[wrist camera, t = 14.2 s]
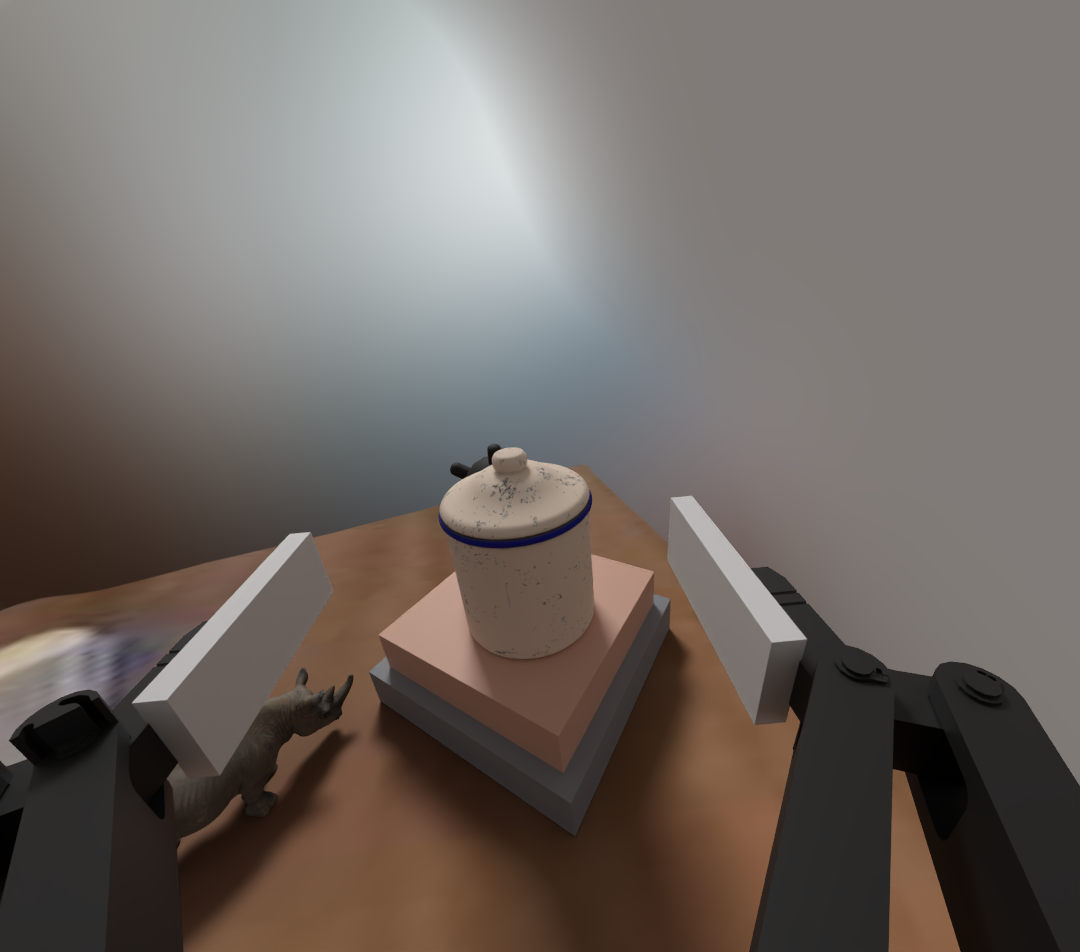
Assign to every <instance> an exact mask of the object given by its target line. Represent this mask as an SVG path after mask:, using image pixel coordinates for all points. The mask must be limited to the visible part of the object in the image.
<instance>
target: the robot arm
mask: <svg viewBox="0 0 1080 952" xmlns="http://www.w3.org/2000/svg"><path fill="white" fill-rule="evenodd" d="M667 560H668V562H669V564H670V566H671V568H672V570H673V571H674V573H675V575H676V577H677V579H678V581H679V583H680V585H681V587H682V588H683V590H684V592H685V594H686V596H687V598H688V600H689V602H690V604H691V606H692V607H693V609H694V611H695V613H696V615H697V617H698V619H699V621H700V623H701V625H702V626H703V628H704V630H705V632H706V634H707V636H708V638H709V640H710V642H711V643H712V645H713V647H714V649H715V651H716V653H717V655H718V657H719V659H720V661H721V662H722V664H723V666H724V668H725V670H726V672H727V674H728V676H729V678H730V680H731V681H732V683H733V685H734V687H735V689H736V691H737V693H738V695H739V697H740V698H741V700H742V702H743V704H744V706H745V708H746V710H747V712H748V714H749V716H750V717H751V719H752V721H753V723H754V725H759V724H770V723H780V722H786V719H787V715H788V711H789V707H790V706H791V708H792V709H793V711H794V713H795V714H796V716H797V717H798V719H799V720H800V725H799V729H798V732H797V736H796V739H795V743H794V746H793V750H794V751H793V756H792V760H791V765H790V769H789V774H788V778H787V783H786V787H785V792H784V796H783V801H782V806H781V810H780V815H779V819H778V824H777V828H776V833H775V837H774V842H773V846H772V851H771V855H770V860H769V864H768V869H767V874H766V878H765V883H764V887H763V892H762V896H761V901H760V905H759V910H758V914H757V919H756V923H755V928H754V932H753V937H752V941H751V946H750V951H749V952H888V949H889V905H890V861H891V817H892V773H893V769H896V770H900V771H904V772H905V774H906V777H907V780H908V783H909V786H910V790H911V793H912V796H913V799H914V803H915V806H916V809H917V812H918V816H919V819H920V822H921V825H922V828H923V832H924V835H925V838H926V841H927V845H928V848H929V851H930V854H931V857H932V861H933V864H934V867H935V870H936V874H937V877H938V880H939V883H940V886H941V890H942V893H943V896H944V899H945V903H946V906H947V909H948V912H949V916H950V919H951V922H952V925H953V928H954V932H955V935H956V938H957V941H958V945H959V948H960V951H961V952H1080V786H1079V784H1078V783H1077V781H1076V779H1075V778H1074V776H1073V775H1072V773H1071V772H1070V770H1069V768H1068V767H1067V765H1066V764H1065V762H1064V761H1063V759H1062V757H1061V756H1060V754H1059V753H1058V751H1057V750H1056V748H1055V746H1054V745H1053V743H1052V742H1051V740H1050V739H1049V737H1048V735H1047V734H1046V732H1045V731H1044V729H1043V728H1042V726H1041V724H1040V723H1039V721H1038V720H1037V718H1036V717H1035V715H1034V714H1033V712H1032V711H1031V709H1030V707H1029V706H1028V704H1027V703H1026V701H1025V699H1024V698H1023V697H1022V696H1021V695H1020V694H1019V693H1018V692H1017V691H1016V689H1015V688H1014V687H1012V686H1011V685H1010V684H1008V683H1007V682H1005V681H1004V680H1002V679H1001V678H1000V677H998V676H996V675H994V674H992V673H990V672H988V671H986V670H984V669H982V668H979V667H976V666H973V665H969V664H966V663H959V662H947V663H942V664H940V665H939V666H938V667H937V668H936V670H935V672H934V674H933V676H932V677H930V676H925V675H918V674H913V673H907V672H901V671H895V670H891V669H887V667H886V666H885V665H884V664H883V663H882V662H881V661H879V660H878V659H877V658H875V657H874V656H872V655H871V654H869V653H867V652H865V651H863V650H860V649H858V648H855V647H851V646H846V645H845V644H844V643H843V642H842V641H841V640H840V639H839V638H838V636H837V635H836V634H835V633H834V632H833V631H832V630H831V628H829V626H828V625H827V624H826V623H825V622H824V621H823V620H822V618H821V617H820V616H819V615H818V614H817V613H816V612H815V611H814V610H813V608H812V607H811V606H810V605H809V604H806V601H805V600H804V598H803V597H802V596H801V595H800V594H799V593H797V592H796V589H794V587H793V586H792V585H791V584H790V583H789V582H788V581H787V580H786V578H785V577H783V576H781V575H780V574H778V573H777V572H775V571H773V570H772V569H770V568H768V567H761V568H749V566H748V565H747V564H746V563H745V562H744V560H743V559H742V558H741V556H740V555H739V554H738V553H737V551H736V550H735V549H734V548H733V546H732V545H731V544H730V543H729V542H728V540H727V539H726V538H725V536H724V535H723V534H722V533H721V531H720V530H719V529H718V528H717V526H716V525H715V524H714V523H713V522H712V520H711V519H710V518H709V517H708V515H707V514H706V513H705V512H704V510H703V509H702V508H701V507H700V505H699V504H698V503H697V502H696V500H695V499H694V498H693V497H692V496H684V497H675V498H671V504H670V521H669V540H668V557H667ZM332 593H333V589H332V587H331V584H330V581H329V579H328V576H327V574H326V571H325V568H324V566H323V563H322V561H321V558H320V555H319V553H318V550H317V548H316V545H315V542H314V540H313V537H312V535H311V532H307V533H297V534H289V535H288V537H287V538H286V539H285V540H284V541H283V542H282V543H281V544H280V545H279V546H278V547H277V548H276V549H275V550H274V551H273V552H272V554H271V555H270V556H269V557H268V558H267V559H266V560H265V561H264V562H263V563H262V564H261V565H260V566H259V567H258V569H257V570H256V571H255V572H254V573H253V574H252V575H251V576H250V577H249V578H248V579H247V580H246V581H245V582H244V583H243V585H242V586H241V587H240V588H239V589H238V590H237V591H236V592H235V593H234V594H233V595H232V596H231V597H230V598H229V600H228V601H227V602H226V603H225V604H224V605H223V606H222V607H221V608H220V609H219V610H218V611H217V612H216V613H215V615H214V616H213V617H212V618H211V619H210V620H209V621H204V622H203V623H201V624H200V625H199V626H197V627H196V628H194V629H193V630H192V631H190V632H189V633H187V634H186V635H185V636H183V638H182V639H181V640H180V641H179V642H178V643H177V644H176V645H175V646H174V647H173V648H172V649H171V650H170V651H169V654H166V655H165V656H164V657H163V658H162V659H161V660H160V661H159V662H158V663H157V667H154V668H153V669H152V670H151V671H150V672H149V673H148V674H147V675H146V676H145V677H144V678H143V679H142V680H141V681H140V682H139V683H138V684H137V685H136V686H135V687H134V688H133V689H132V690H131V691H130V692H129V693H128V695H127V696H126V697H125V698H124V699H123V700H122V701H121V702H120V703H119V704H118V705H117V706H116V707H115V708H114V709H113V710H111V709H110V707H109V706H108V705H107V704H106V702H105V701H104V700H103V699H102V698H101V696H100V695H99V694H98V693H97V691H92V690H84V691H78V692H74V693H72V694H69V695H67V696H64V697H61V698H59V699H57V700H56V701H54V702H52V703H50V704H48V705H46V706H45V707H43V708H42V709H40V710H39V711H37V712H36V713H35V714H33V715H32V716H30V717H29V718H28V719H27V720H25V721H24V722H23V723H22V724H21V725H20V726H19V727H18V728H17V729H16V730H15V732H14V733H13V735H12V737H11V738H10V740H9V741H10V742H11V743H12V744H13V745H14V746H15V747H16V748H17V749H18V750H19V751H20V752H21V753H22V754H23V755H24V756H25V757H26V758H27V760H24V761H21V762H18V763H16V764H13V765H10V766H7V767H6V766H5V765H4V764H3V763H2V762H1V761H0V952H183V937H182V922H181V907H180V892H179V876H178V861H177V846H176V831H175V816H174V800H173V788H172V786H171V784H170V782H169V781H168V780H167V778H168V776H169V775H170V773H171V772H172V771H173V769H174V768H175V767H176V765H177V764H178V765H179V766H180V767H181V769H182V770H183V771H184V773H185V774H186V775H187V777H188V778H198V777H208V776H219V775H221V773H222V771H223V770H224V768H225V766H226V765H227V763H228V762H229V760H230V758H231V757H232V755H233V754H234V752H235V750H236V749H237V747H238V745H239V744H240V742H241V741H242V739H243V737H244V736H245V734H246V732H247V731H248V729H249V728H250V726H251V724H252V723H253V721H254V720H255V718H256V716H257V715H258V713H259V711H260V710H261V708H262V707H263V705H264V703H265V702H266V700H267V698H268V697H269V695H270V694H271V692H272V690H273V689H274V687H275V685H276V684H277V682H278V681H279V679H280V677H281V676H282V674H283V673H284V671H285V669H286V668H287V666H288V664H289V663H290V661H291V660H292V658H293V656H294V655H295V653H296V651H297V650H298V648H299V647H300V645H301V643H302V642H303V640H304V638H305V637H306V635H307V634H308V632H309V630H310V629H311V627H312V626H313V624H314V622H315V621H316V619H317V617H318V616H319V614H320V613H321V611H322V609H323V608H324V606H325V604H326V603H327V601H328V600H329V598H330V596H331V595H332Z"/></svg>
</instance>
